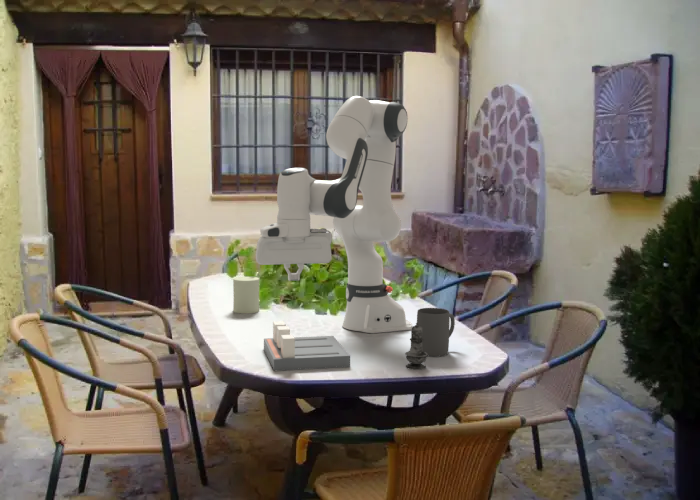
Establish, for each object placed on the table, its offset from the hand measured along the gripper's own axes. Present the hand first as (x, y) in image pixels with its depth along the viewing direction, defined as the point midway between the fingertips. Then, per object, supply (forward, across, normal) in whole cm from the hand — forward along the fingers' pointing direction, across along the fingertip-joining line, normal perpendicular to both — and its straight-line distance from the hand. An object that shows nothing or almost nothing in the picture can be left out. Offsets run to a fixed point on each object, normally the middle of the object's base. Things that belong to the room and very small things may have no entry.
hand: (293, 280), depth 202 cm
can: (+22, +7, -63) cm, 67 cm away
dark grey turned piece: (+22, -30, +16) cm, 40 cm away
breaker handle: (+18, +3, +1) cm, 18 cm away
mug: (+22, -41, +2) cm, 46 cm away
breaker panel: (+21, -3, +2) cm, 21 cm away
